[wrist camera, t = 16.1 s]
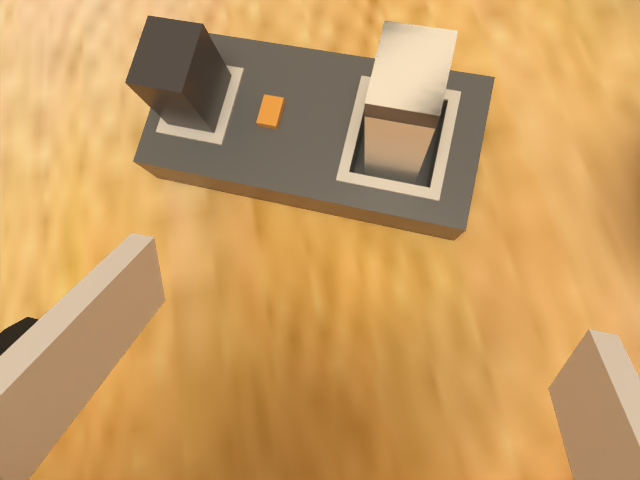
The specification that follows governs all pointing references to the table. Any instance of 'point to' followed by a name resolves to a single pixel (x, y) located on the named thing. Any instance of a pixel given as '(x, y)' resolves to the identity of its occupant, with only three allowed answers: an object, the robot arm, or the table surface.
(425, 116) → the plug
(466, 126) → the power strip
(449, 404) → the table surface
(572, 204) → the table surface
